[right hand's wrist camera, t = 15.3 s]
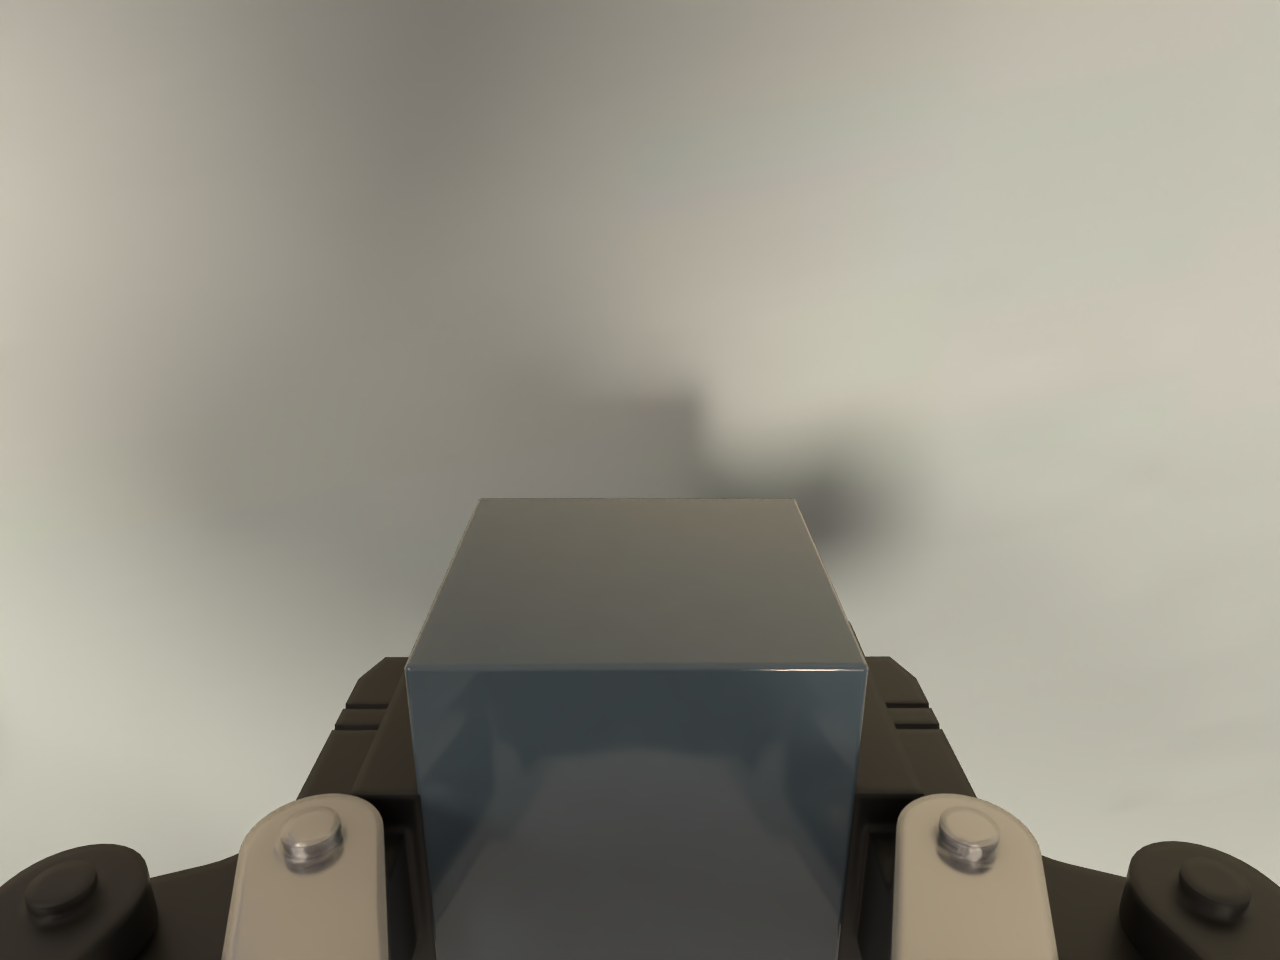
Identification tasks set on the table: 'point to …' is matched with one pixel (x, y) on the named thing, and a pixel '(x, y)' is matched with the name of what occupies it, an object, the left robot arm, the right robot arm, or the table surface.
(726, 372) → the table surface
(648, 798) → the block
